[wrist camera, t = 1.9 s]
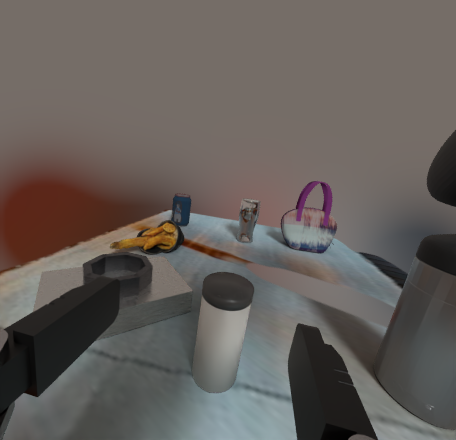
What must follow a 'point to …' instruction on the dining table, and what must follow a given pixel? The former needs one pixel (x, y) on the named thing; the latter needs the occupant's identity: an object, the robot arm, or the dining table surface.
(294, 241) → the handbag
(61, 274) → the slab with octagonal socket
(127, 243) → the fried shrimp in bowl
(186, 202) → the soda can
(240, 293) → the canister
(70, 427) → the dining table surface
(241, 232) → the beer glass
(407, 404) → the robot arm
